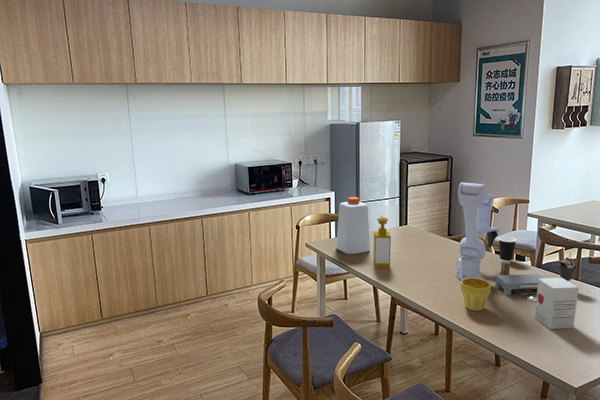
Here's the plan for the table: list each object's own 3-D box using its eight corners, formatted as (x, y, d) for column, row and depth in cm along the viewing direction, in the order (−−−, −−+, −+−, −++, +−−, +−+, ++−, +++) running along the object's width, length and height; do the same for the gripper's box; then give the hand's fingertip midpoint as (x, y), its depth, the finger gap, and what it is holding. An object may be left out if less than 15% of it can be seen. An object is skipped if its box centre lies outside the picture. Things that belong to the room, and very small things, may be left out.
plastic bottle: (333, 247, 242) (333, 196, 236) (357, 244, 248) (358, 194, 242) (347, 256, 228) (348, 202, 223) (372, 251, 234) (374, 199, 229)
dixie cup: (518, 261, 218) (520, 239, 216) (508, 264, 214) (510, 242, 211) (502, 257, 224) (504, 235, 222) (493, 260, 220) (495, 238, 218)
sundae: (571, 286, 187) (575, 252, 184) (575, 293, 181) (580, 257, 178) (553, 284, 189) (557, 250, 186) (557, 291, 183) (561, 255, 180)
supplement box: (533, 317, 161) (537, 277, 158) (557, 316, 161) (561, 276, 158) (549, 329, 152) (554, 288, 149) (574, 328, 153) (579, 287, 150)
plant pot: (471, 315, 163) (473, 289, 161) (453, 303, 173) (455, 279, 171) (495, 311, 166) (497, 286, 164) (477, 299, 176) (478, 276, 174)
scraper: (522, 297, 178) (524, 280, 177) (496, 276, 200) (497, 261, 198) (537, 296, 178) (539, 280, 177) (509, 276, 200) (510, 261, 198)
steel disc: (530, 302, 173) (531, 300, 173) (523, 297, 178) (524, 294, 178) (543, 302, 173) (543, 299, 173) (536, 297, 178) (536, 294, 178)
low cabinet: (506, 296, 179) (507, 284, 178) (495, 286, 188) (496, 275, 187) (550, 294, 180) (551, 282, 179) (537, 285, 189) (538, 274, 188)
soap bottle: (387, 259, 223) (388, 212, 218) (389, 268, 211) (391, 219, 206) (372, 258, 224) (373, 212, 219) (374, 267, 211) (375, 219, 206)
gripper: (495, 216, 211) (492, 244, 214) (464, 217, 210) (462, 244, 213) (502, 220, 204) (499, 248, 207) (470, 220, 204) (468, 249, 206)
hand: (481, 247), depth 210 cm, fingers open, 7 cm apart
